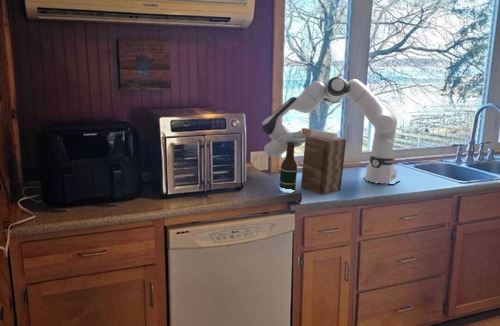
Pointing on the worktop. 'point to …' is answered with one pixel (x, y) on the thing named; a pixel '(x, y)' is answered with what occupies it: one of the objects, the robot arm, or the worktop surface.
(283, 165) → the beer bottle
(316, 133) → the bar
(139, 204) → the worktop surface
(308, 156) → the shelf
